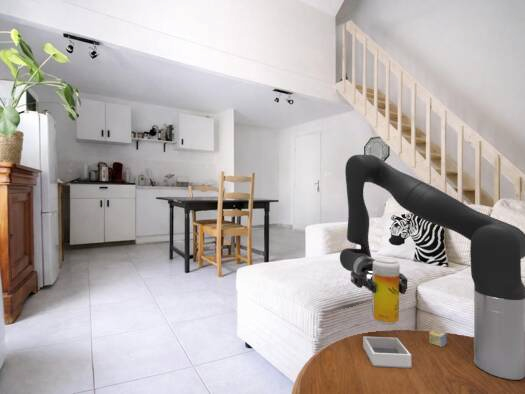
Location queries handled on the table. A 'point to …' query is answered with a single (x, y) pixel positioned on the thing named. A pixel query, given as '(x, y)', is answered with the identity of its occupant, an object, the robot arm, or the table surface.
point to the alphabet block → (437, 338)
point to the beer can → (386, 291)
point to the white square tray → (386, 352)
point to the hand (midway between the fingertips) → (389, 289)
